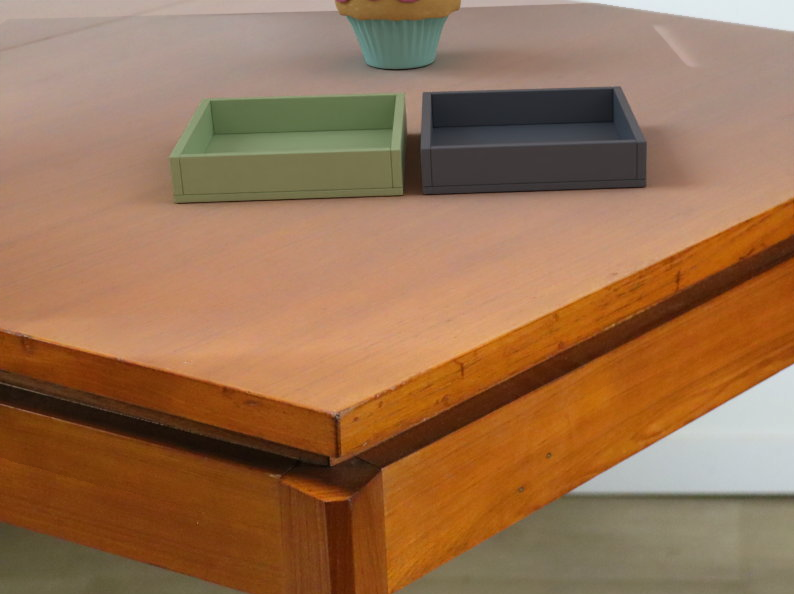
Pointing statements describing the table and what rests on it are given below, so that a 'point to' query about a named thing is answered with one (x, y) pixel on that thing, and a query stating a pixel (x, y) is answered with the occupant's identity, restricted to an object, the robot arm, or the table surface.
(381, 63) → the cupcake
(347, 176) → the green tray
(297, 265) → the table surface
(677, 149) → the table surface
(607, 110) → the slate tray
